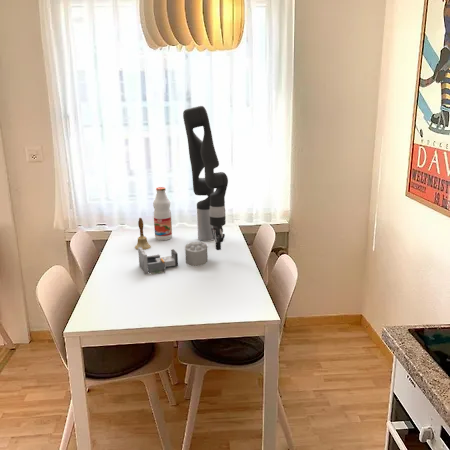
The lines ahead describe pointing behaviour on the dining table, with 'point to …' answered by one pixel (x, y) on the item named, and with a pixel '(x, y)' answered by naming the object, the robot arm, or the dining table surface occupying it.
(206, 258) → the paw print stamp
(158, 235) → the fruit juice
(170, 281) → the dining table surface
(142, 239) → the hand bell
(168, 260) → the grey boxy piece
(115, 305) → the dining table surface
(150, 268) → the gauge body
